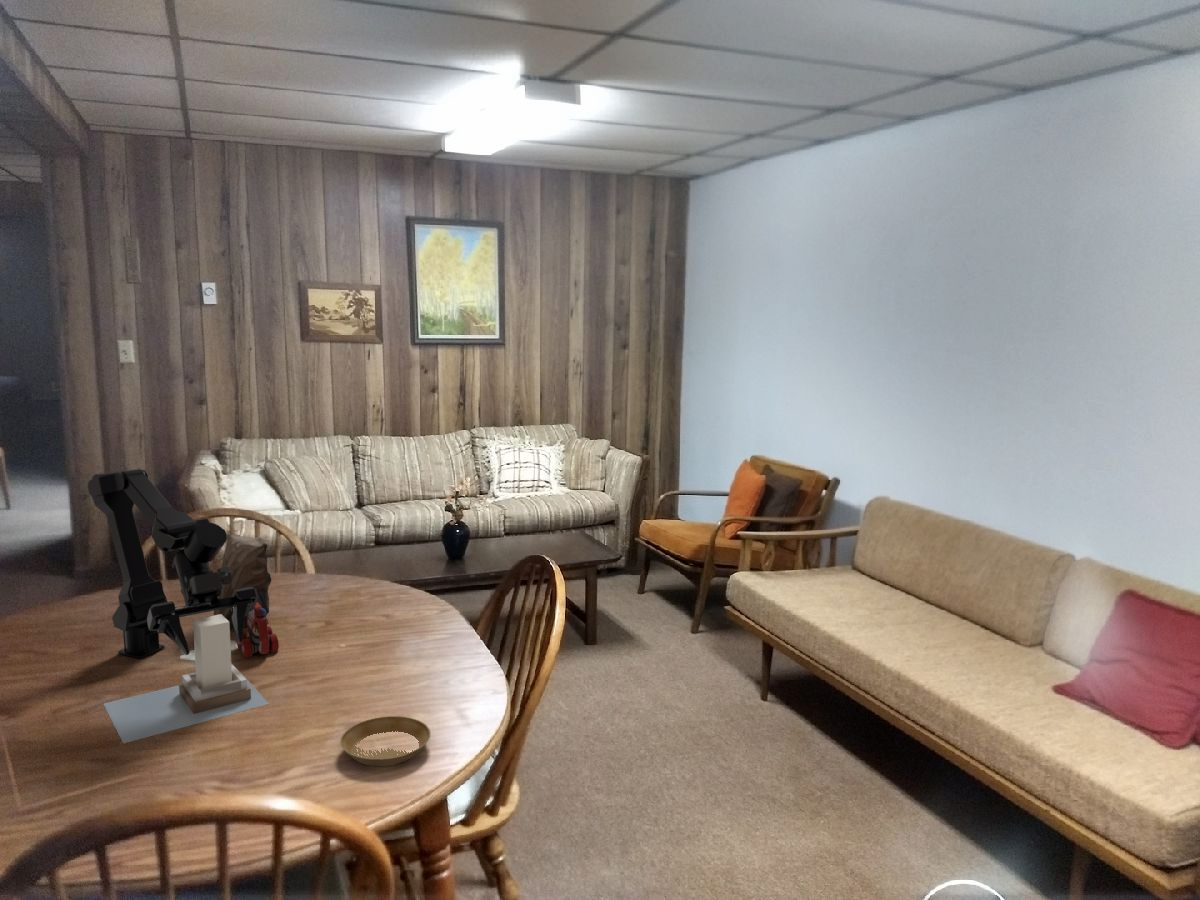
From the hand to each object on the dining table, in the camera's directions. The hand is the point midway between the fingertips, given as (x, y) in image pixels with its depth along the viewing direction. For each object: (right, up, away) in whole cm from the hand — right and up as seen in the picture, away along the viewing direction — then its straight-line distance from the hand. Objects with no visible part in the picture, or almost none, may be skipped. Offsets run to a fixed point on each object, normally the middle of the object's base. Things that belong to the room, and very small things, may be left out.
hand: (214, 648), depth 155 cm
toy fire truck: (-2, -7, +25) cm, 26 cm away
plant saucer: (+35, -14, -13) cm, 40 cm away
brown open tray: (-1, -10, +3) cm, 10 cm away
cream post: (-1, -8, +2) cm, 8 cm away
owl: (-14, -4, +41) cm, 43 cm away
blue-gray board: (-5, -11, 0) cm, 12 cm away
